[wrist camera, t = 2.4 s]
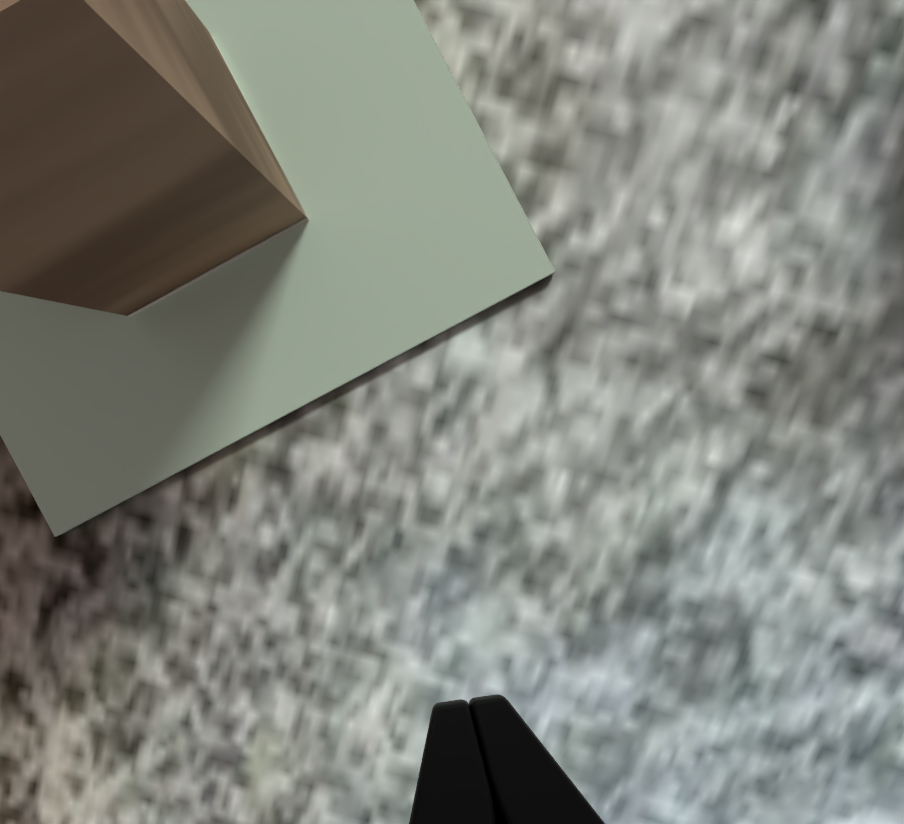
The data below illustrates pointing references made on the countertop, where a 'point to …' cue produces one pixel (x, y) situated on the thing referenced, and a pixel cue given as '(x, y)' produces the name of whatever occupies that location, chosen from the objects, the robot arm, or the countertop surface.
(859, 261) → the countertop surface
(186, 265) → the block
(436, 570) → the countertop surface
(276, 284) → the mat
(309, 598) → the countertop surface
